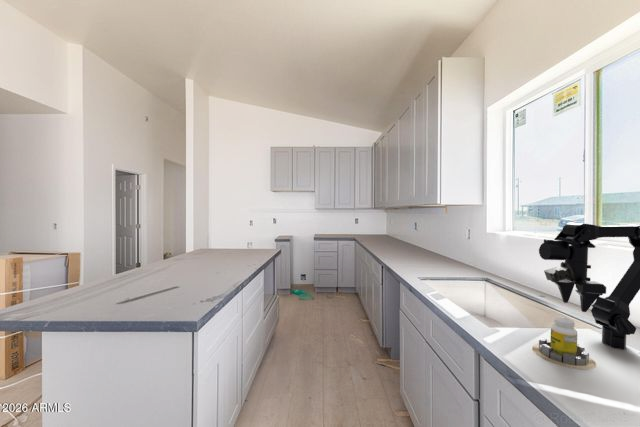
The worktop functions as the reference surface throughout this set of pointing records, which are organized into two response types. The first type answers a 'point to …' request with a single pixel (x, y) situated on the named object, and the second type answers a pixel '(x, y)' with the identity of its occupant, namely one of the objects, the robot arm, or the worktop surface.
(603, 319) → the robot arm
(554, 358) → the castellated collar
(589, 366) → the flange plate
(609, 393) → the worktop surface
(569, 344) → the pill bottle
